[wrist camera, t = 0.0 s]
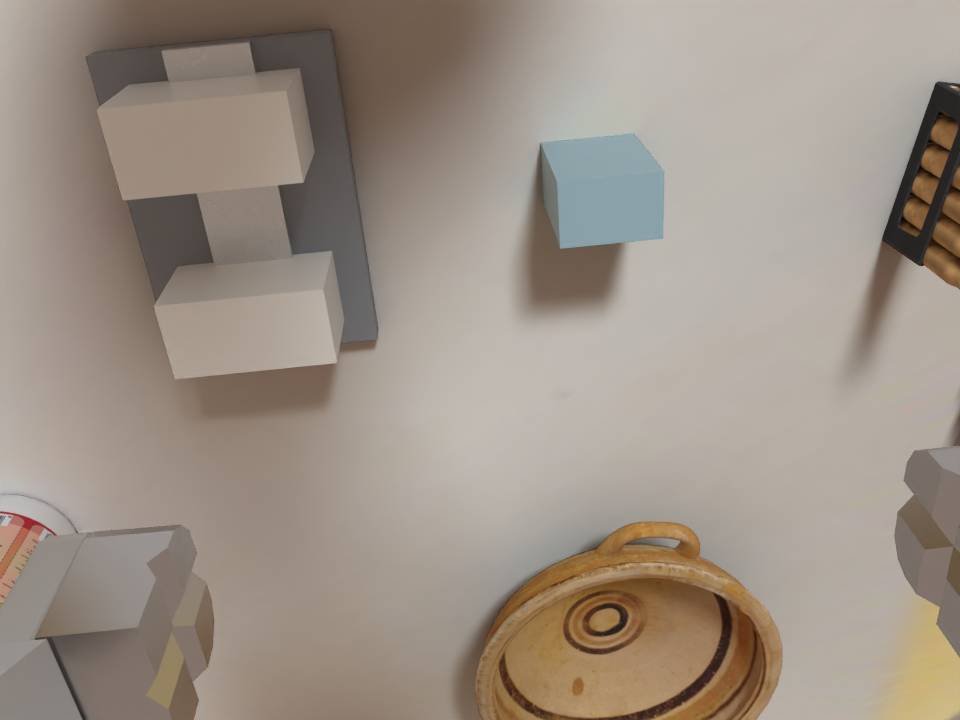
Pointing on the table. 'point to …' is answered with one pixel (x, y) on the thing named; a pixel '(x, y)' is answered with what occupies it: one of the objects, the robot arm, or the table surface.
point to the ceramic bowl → (631, 638)
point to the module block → (602, 191)
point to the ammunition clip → (932, 191)
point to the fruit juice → (24, 534)
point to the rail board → (240, 198)
